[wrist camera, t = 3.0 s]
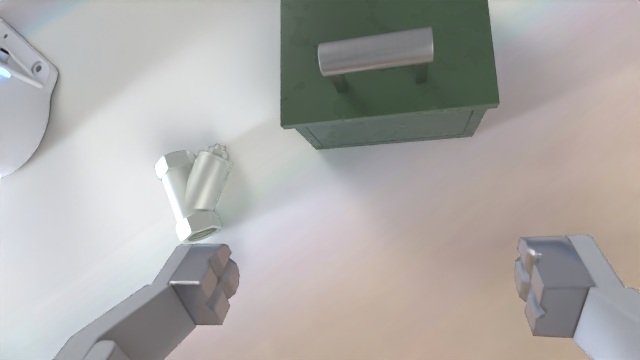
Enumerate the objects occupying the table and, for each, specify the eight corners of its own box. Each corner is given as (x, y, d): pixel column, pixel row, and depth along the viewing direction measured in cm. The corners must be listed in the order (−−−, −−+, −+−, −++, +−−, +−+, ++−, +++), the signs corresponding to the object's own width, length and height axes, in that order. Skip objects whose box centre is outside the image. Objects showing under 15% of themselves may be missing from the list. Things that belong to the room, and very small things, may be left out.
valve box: (472, 136, 31) (495, 94, 23) (315, 149, 34) (284, 117, 26) (458, -7, 34) (473, -93, 25) (313, 17, 37) (284, -51, 29)
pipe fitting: (228, 142, 37) (171, 172, 38) (211, 129, 34) (147, 162, 34) (258, 212, 35) (196, 243, 36) (243, 207, 31) (174, 241, 32)
